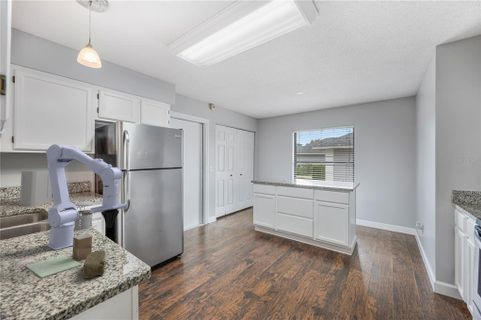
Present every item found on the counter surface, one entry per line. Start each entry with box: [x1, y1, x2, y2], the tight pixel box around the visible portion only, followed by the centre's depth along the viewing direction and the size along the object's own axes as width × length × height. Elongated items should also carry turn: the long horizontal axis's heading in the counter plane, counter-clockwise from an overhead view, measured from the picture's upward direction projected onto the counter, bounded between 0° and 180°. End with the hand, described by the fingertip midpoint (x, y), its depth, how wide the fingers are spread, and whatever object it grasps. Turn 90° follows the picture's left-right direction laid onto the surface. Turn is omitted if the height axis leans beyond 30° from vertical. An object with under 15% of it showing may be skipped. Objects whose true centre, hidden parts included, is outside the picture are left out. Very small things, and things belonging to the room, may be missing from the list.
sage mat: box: [25, 254, 83, 279], centre depth 76 cm, size 14×11×1 cm
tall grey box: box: [19, 170, 53, 207], centre depth 180 cm, size 19×15×28 cm
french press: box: [73, 183, 95, 232], centre depth 120 cm, size 10×12×25 cm
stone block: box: [82, 250, 106, 280], centre depth 74 cm, size 6×12×5 cm, turn 31°
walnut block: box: [71, 233, 93, 262], centre depth 84 cm, size 4×4×8 cm
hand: (109, 227), depth 92 cm, fingers closed
